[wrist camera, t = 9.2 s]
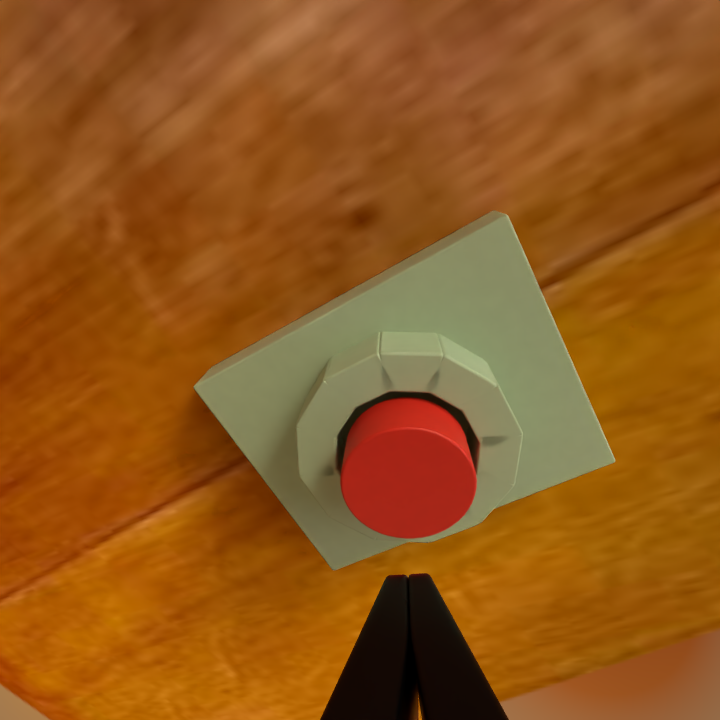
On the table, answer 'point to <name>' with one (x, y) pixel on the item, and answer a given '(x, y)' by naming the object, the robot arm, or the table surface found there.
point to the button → (407, 469)
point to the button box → (414, 384)
